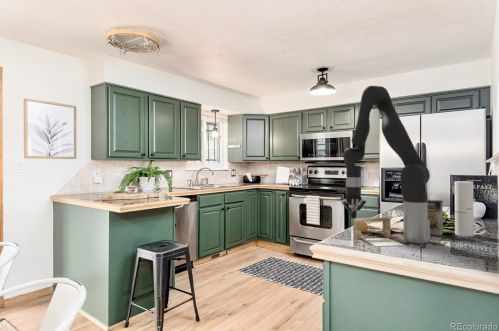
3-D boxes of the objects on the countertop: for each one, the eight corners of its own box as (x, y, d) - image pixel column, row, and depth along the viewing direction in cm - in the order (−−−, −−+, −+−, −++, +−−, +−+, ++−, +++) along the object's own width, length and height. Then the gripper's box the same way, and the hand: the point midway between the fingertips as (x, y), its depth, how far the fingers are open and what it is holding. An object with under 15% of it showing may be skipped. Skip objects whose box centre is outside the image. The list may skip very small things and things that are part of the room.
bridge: (353, 237, 139) (353, 218, 139) (386, 236, 141) (386, 217, 141) (356, 238, 136) (356, 219, 136) (390, 237, 138) (390, 218, 138)
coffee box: (418, 233, 146) (418, 199, 146) (421, 230, 151) (421, 198, 151) (441, 235, 140) (440, 201, 140) (443, 233, 145) (442, 199, 145)
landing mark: (388, 238, 136) (388, 238, 136) (404, 245, 124) (404, 245, 124) (362, 239, 135) (362, 238, 135) (376, 246, 123) (376, 246, 123)
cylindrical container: (476, 236, 138) (476, 182, 138) (459, 236, 139) (458, 182, 139) (468, 233, 145) (468, 181, 145) (452, 232, 146) (451, 181, 146)
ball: (365, 230, 152) (365, 220, 152) (370, 233, 147) (370, 222, 147) (355, 231, 152) (355, 221, 152) (360, 233, 147) (360, 223, 147)
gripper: (362, 185, 163) (361, 217, 163) (338, 185, 162) (338, 217, 162) (368, 186, 156) (368, 219, 156) (344, 186, 154) (344, 220, 154)
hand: (353, 218), depth 159 cm, fingers closed
